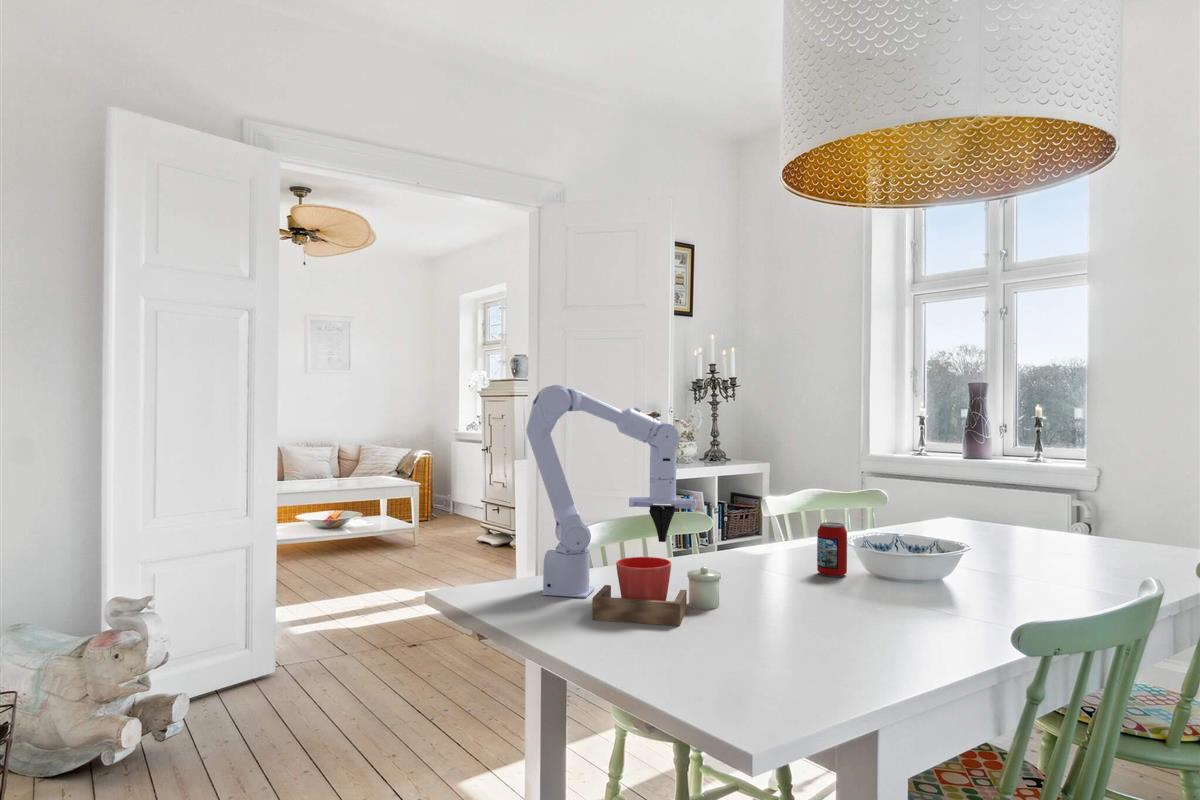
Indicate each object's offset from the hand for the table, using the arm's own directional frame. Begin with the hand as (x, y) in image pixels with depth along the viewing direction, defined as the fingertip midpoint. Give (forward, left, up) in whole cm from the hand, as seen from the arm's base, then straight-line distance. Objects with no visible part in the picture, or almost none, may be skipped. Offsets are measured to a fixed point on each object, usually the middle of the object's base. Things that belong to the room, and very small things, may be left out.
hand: (662, 541), depth 163 cm
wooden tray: (-1, -21, -10) cm, 23 cm away
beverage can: (+37, +25, -11) cm, 46 cm away
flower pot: (-1, -19, -11) cm, 22 cm away
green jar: (+10, -11, -10) cm, 18 cm away
